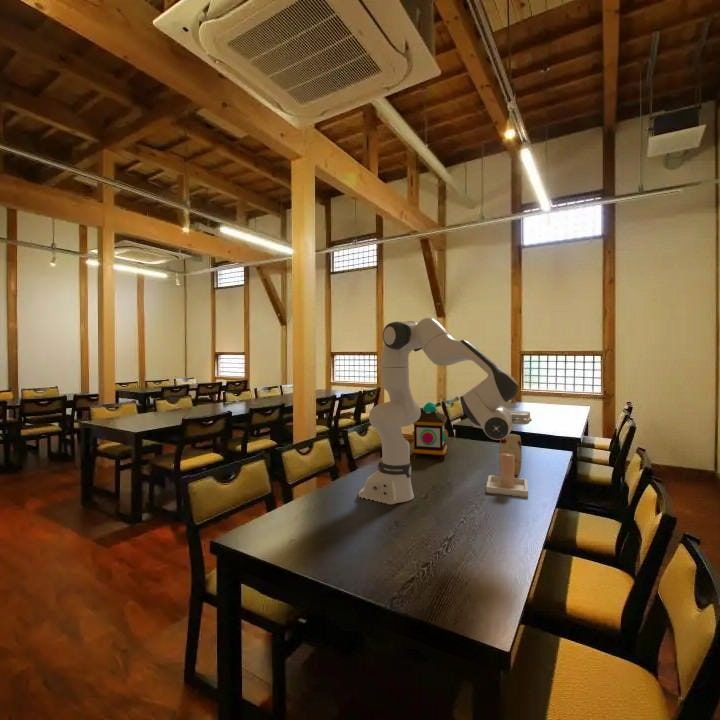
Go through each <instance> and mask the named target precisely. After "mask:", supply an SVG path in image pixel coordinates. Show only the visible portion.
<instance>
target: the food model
mask: <svg viewBox="0 0 720 720" xmlns="http://www.w3.org/2000/svg"><path fill="white" fill-rule="evenodd" d="M522 450H523V449H522V439H521V436H520V434H519V435H518V434H515V433H509V435H508V436H507V437H505V438H504V439H500V440H499V451H498V453H499V473H500V474H501V454H502V453H510V454H514V478H519V476H520V475H521V469H522V456H523V455H522Z"/></svg>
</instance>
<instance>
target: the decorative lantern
mask: <svg viewBox="0 0 720 720" xmlns="http://www.w3.org/2000/svg"><path fill="white" fill-rule="evenodd" d="M447 419H448V417H447V416H446V415H445V414H444V413H440V412H439V411H438V410H437V406H436V405H435V404H434V403H433V402H431V401H429V402H427V403H425V405H424V406H423V411H422V412H421V415H420V418H419V419H418V420H417V421H416V422H414V423H413V431H412V432H411V434H412V437H413V438H414V439H413V440H414V447H413V450H412V452H411V458H412V459H414V460H415V458H416V455H421V456H437V457H441V461H442V460H443V461H442V462H444V461H445V457H446V454H448V452H449V449H448V445H447V444H446V443H447V442H446V439H447V438H448V437H449V432H448V430H447V429H446V422H447Z"/></svg>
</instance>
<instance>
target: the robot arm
mask: <svg viewBox="0 0 720 720" xmlns="http://www.w3.org/2000/svg"><path fill="white" fill-rule="evenodd" d="M382 341H383V343H384V344H383V347H382V352H381V360H380V361H381V363H380V366H381V367H380V370H381V371H380V372H381V374H380V376H381V379H380V380H381V387H382V388H383V389H384V390H385V391H386V392H387V393H388V397H389V401H387V402H382V403H379V404H376V405H375V406H374V407H372V408H371V409H370V411H369V415H368V419H369V423H370V425H371V427H372V428H373V430H374V429H375V431H377V433H378V435H379V437H380V441H381V451H382V452H381V453H382V458H381V459H380V460H379V462H378V463H377V464H376V466H377V467H376V468H377V469H378V470H376V471H374V472H373V473H372V474H371V475H369V476H368V477H367V478H366V479H365V482H364V485H363V488H361V489H360V490H359V492H358V498H360V497H361V498H360V499H363V498H365V500H368V499H370V500H369V501H372V500H374V501H373V502H377V501H378V502H377V503H381V502H382V504H385V503H386V504H385V505H395V504H398V503H399V504H400V503H405V502H409V501H411V500H413V499H414V498H415V495H414V492H413V485H412V480H411V478H412V477H411V476H412V463H411V461H410V460H411V458H410V455H411V454H410V452H411V451H410V450H411V449H410V447H411V446H410V442H409V440H408V439H406V438H405V437H404V435H403V430H402V428H405V427H408V426H411V425H412V424H413V423H414V422H416V421H417V420H418V419H419V418H420V415H421V413H422V412H421V411H422V410H421V406H420V405H419V403H418V402H417V401H416V400H415V399H414V396H413V394H412V390H411V387H410V386H411V385H410V368H409V365H410V363H409V356H410V353H412V351H414V352H418V351H420V350H421V351H423V353H424V354H425V355H426V357H427V358H428V359H429V360H430V361H431V362H432V364H434V365H436V366H439V367H441V366H442V367H443V366H445V367H447V366H453V365H455V364H457V363H462V362H465V361H472V362H473V363H475V364H476V365H477V366H479V367H480V368H481V370H483V371H484V372H485V373H486V374H487V376H486V378H484V379H483V380H482V381H480V382H479V383H477V385H476V386H474V387H472V388H471V389H469V391H467V392H466V393H464V394H462V397H461V408H462V410H463V412H464V414H465V416H466V417H467V418H468V420H470V423H471V424H472V427H473V428H477V429H481V430H483V432H484V433H485V435H486V436H487V437H488V438H490V439H492V440H496V441H498V440H499V441H500V439H504V438H505V437H507V436H508V435H509V434H511V432H512V429H513V425H522V426H523V425H529V424H530V422H532V421H533V420H532V418H531V412H530V411H526V410H525V411H524V410H509V409H508V408H507V407H505V406H503V405H504V404H506V403H508V402H510V401H512V400H513V399H515V398H516V397H517V396H518V391H519V385H518V382H517V380H516V379H515V378H514V377H513V376H512V375H511V374H510V373H508V372H507V371H505V370H503V368H501V367H498V366H497V365H496V363H495V362H493V361H492V360H491V359H490V358H489V357H487V356H486V355H485V354H484V353H483V352H482V351H480V350H479V349H478V347H476V346H474V344H472V343H471V342H469V341H467V340H465V339H461V340H458V339H456V338H454V337H453V336H452V335H451V334H450V333H449V331H448V330H447V329H446V328H445V327H444V326H443V325H442V324H441V323H440V322H439V321H438V320H436V319H435V318H432V317H426V318H425V317H424V318H422V319H421V320H420V321H413V320H406V321H393V322H389V323H388V324H386V325H385V326H384V328H383V331H382ZM413 425H414V424H413Z"/></svg>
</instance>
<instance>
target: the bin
mask: <svg viewBox="0 0 720 720" xmlns="http://www.w3.org/2000/svg"><path fill="white" fill-rule="evenodd" d="M528 486H529V484H528V478H522V477H521V478H520V477H514V489H511V488H502V487H501V475H492V474H491V475H490V474H489V475H488V477H487V482H486V488H485V489H486V490H485V491H486V494H494V495H501V494H502V495H501V496H510V495H512V496H513V497H519V496H520V498H529V487H528Z"/></svg>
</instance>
